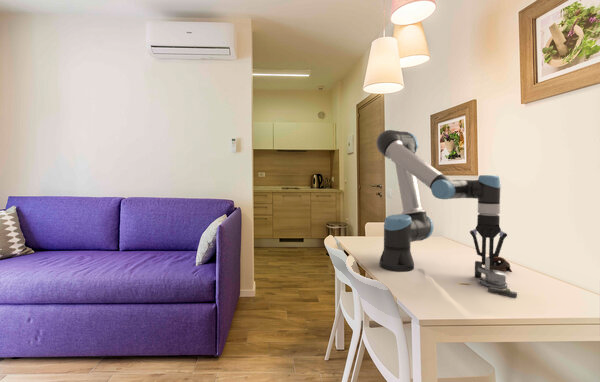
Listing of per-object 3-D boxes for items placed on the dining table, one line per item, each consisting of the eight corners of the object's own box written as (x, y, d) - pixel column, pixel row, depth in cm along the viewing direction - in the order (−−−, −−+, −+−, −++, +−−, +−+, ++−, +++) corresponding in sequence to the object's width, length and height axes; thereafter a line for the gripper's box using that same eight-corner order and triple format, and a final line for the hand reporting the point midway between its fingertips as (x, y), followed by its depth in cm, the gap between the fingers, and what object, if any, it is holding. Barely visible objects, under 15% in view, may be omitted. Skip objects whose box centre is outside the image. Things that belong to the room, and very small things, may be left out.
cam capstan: (513, 288, 115) (514, 271, 115) (489, 289, 114) (489, 271, 114) (486, 276, 129) (487, 260, 129) (465, 276, 129) (465, 261, 128)
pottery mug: (519, 278, 133) (513, 262, 131) (496, 287, 135) (490, 271, 133) (503, 263, 145) (497, 248, 143) (482, 271, 146) (476, 257, 144)
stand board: (452, 288, 119) (453, 278, 119) (469, 277, 133) (469, 268, 133) (515, 303, 106) (515, 291, 105) (526, 288, 119) (526, 278, 119)
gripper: (506, 214, 127) (504, 273, 128) (469, 212, 133) (468, 269, 134) (509, 216, 121) (507, 278, 122) (470, 214, 126) (468, 273, 127)
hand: (486, 273), depth 128 cm, fingers closed
